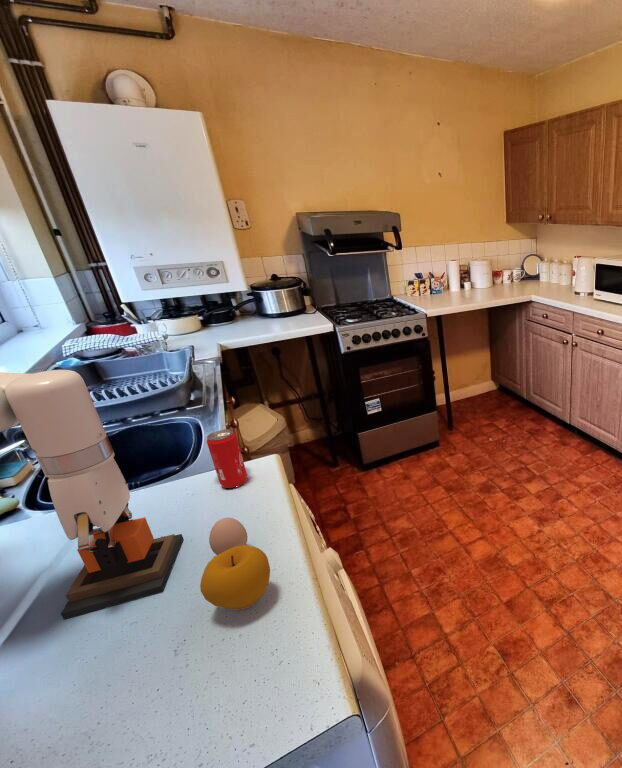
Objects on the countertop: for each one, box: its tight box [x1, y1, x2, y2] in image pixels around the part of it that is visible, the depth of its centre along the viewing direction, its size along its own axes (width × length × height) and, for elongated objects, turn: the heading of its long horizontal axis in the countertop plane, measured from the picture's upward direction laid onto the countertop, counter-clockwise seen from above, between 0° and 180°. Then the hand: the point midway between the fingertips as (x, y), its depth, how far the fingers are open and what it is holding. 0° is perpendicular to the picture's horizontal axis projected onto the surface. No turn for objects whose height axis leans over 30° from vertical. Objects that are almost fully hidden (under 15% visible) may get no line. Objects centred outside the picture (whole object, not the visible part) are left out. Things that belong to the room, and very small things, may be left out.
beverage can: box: [206, 428, 248, 489], centre depth 93 cm, size 5×5×12 cm
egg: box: [208, 517, 248, 556], centre depth 73 cm, size 5×5×7 cm
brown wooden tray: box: [60, 533, 184, 620], centre depth 71 cm, size 12×13×3 cm
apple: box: [200, 544, 271, 611], centre depth 64 cm, size 8×8×9 cm
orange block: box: [76, 516, 155, 573], centre depth 69 cm, size 7×5×4 cm
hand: (121, 553), depth 69 cm, fingers closed on orange block, 5 cm apart
